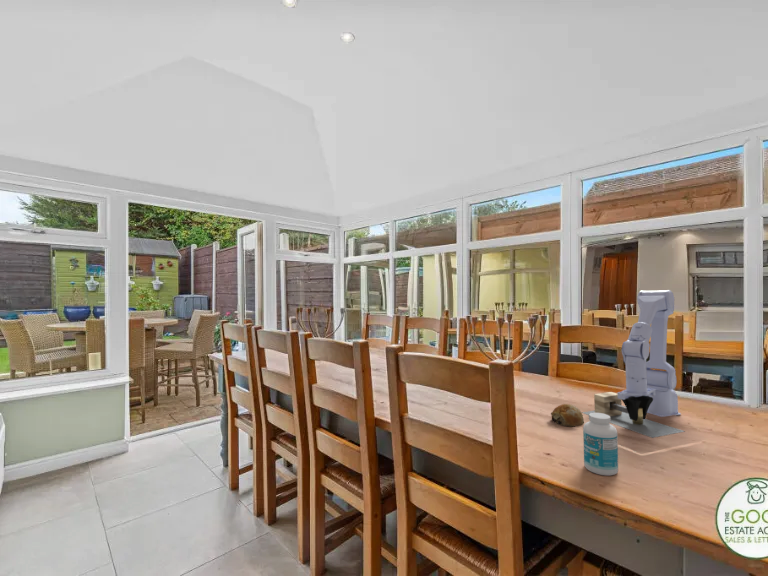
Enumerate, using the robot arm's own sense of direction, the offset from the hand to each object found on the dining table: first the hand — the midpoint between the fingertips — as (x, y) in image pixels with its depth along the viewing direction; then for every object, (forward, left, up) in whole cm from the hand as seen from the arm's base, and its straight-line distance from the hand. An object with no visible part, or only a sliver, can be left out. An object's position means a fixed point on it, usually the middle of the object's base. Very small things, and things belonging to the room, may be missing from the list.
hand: (637, 419), depth 124 cm
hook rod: (0, -7, -1) cm, 7 cm away
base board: (0, -3, -2) cm, 4 cm away
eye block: (0, -11, -2) cm, 11 cm away
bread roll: (+18, -11, -3) cm, 21 cm away
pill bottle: (+37, +19, -2) cm, 42 cm away
